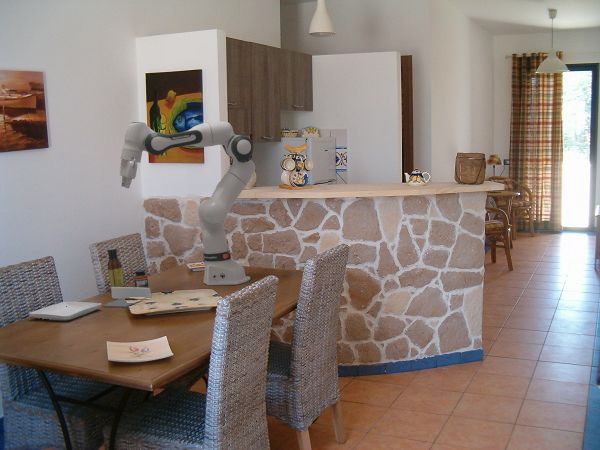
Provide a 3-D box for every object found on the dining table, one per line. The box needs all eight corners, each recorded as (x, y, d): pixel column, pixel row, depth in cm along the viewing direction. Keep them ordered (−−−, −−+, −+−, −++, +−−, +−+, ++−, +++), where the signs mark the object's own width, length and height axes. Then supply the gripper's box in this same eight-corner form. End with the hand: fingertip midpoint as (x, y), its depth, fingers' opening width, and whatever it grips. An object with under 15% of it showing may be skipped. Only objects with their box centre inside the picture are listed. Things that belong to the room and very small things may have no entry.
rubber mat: (142, 300, 315) (142, 299, 315) (125, 307, 304) (125, 306, 304) (119, 300, 320) (119, 298, 320) (102, 306, 309) (102, 305, 309)
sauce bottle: (126, 288, 345) (122, 247, 342) (122, 291, 339) (117, 249, 336) (113, 289, 346) (108, 247, 343) (108, 291, 340) (103, 250, 337)
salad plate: (104, 310, 304) (103, 302, 304) (68, 323, 285) (67, 315, 285) (65, 308, 313) (64, 300, 313) (28, 321, 294) (27, 313, 294)
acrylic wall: (151, 298, 318) (149, 287, 317) (149, 299, 316) (148, 288, 316) (113, 297, 326) (112, 286, 325) (112, 298, 325) (110, 287, 324)
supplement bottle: (136, 294, 330) (134, 269, 328) (150, 293, 330) (147, 268, 329) (135, 297, 324) (132, 272, 322) (148, 295, 324) (145, 271, 323)
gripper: (142, 159, 319) (136, 190, 319) (133, 158, 338) (128, 187, 338) (128, 156, 316) (122, 187, 317) (120, 155, 335) (114, 184, 335)
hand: (125, 187), depth 328 cm, fingers open, 8 cm apart
